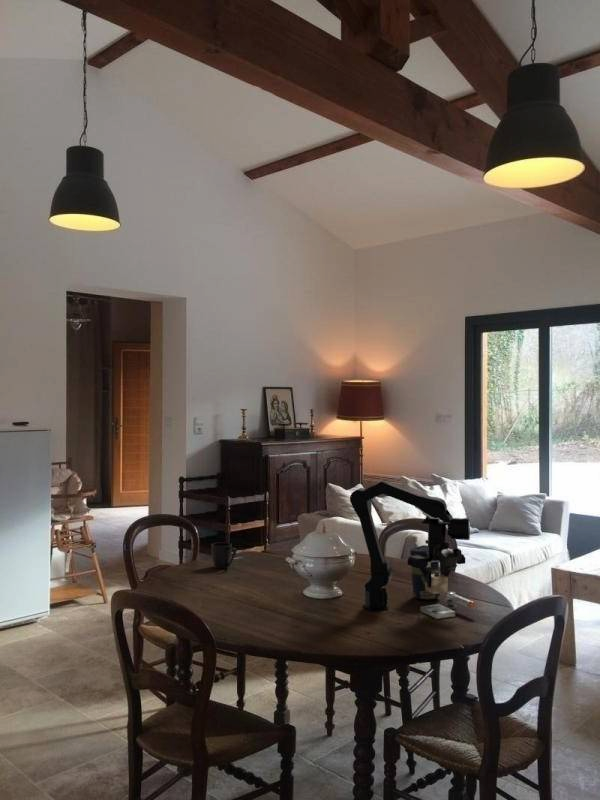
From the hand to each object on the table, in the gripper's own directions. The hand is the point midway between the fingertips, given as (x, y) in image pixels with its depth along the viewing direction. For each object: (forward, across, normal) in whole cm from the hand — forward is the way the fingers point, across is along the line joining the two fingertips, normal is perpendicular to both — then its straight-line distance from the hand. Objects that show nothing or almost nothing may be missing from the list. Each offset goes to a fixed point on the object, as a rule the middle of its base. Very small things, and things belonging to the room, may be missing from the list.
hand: (436, 586), depth 225 cm
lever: (+6, +8, -2) cm, 10 cm away
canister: (+8, +7, +16) cm, 19 cm away
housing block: (+2, 0, 0) cm, 2 cm away
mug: (+9, -44, +85) cm, 96 cm away
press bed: (+8, 0, -1) cm, 9 cm away
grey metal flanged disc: (+8, +8, +3) cm, 12 cm away
